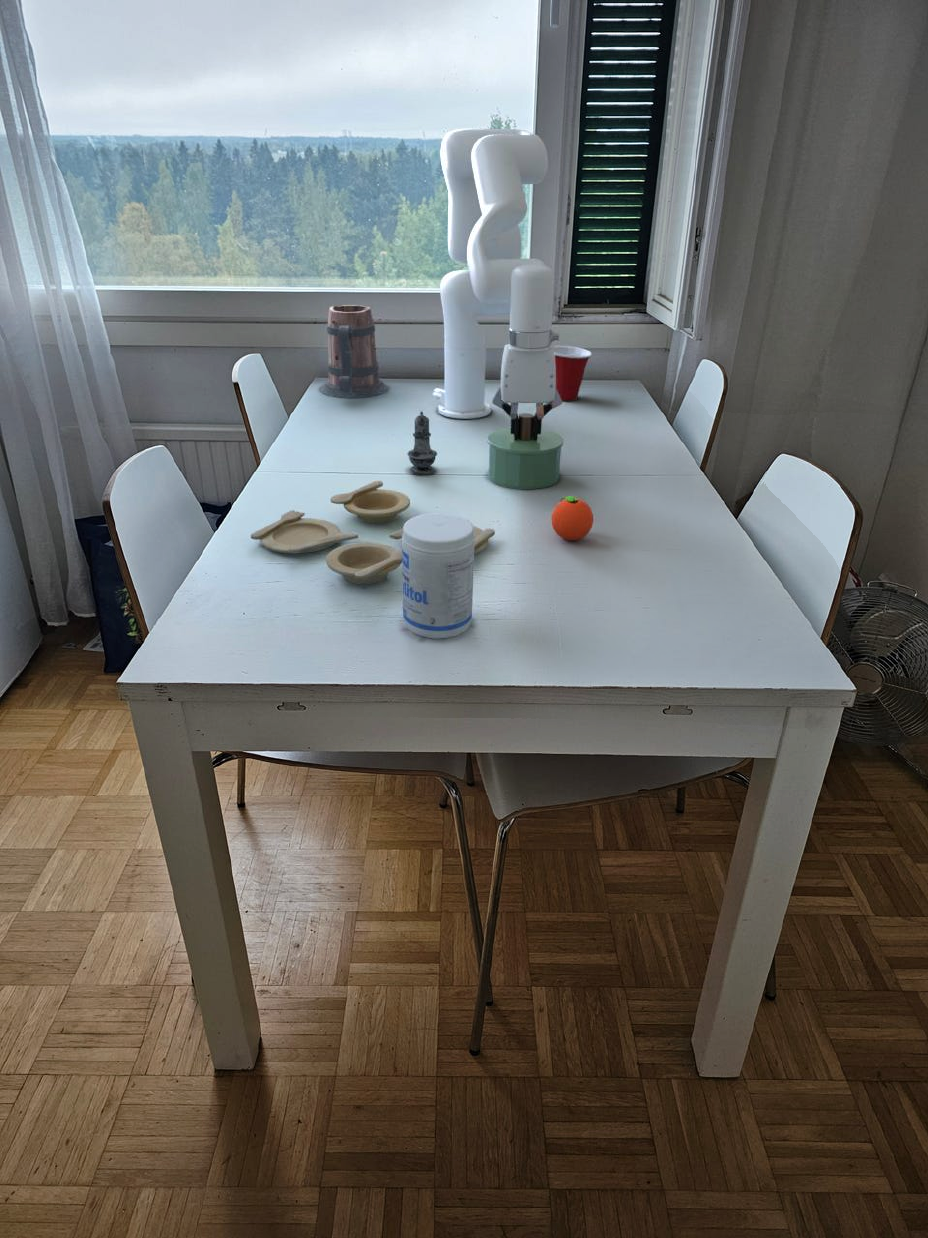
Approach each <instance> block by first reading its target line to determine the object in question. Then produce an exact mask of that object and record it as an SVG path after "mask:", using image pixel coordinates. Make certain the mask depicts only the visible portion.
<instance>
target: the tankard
mask: <svg viewBox="0 0 928 1238" xmlns="http://www.w3.org/2000/svg"><path fill="white" fill-rule="evenodd" d="M327 318H328V319H327V323H326V333H327V352H328V353H327V356H328V357H327V359H328V362H327V372H328V379H326V380H325V382H324V384H323V386H322V387H321V389H320V390H321V392H322V393H323V394H325V395H327V396H330V397H336V398H343V399H345V398H346V399H358V398H360V399H361V398H369V397H374V396H379V395H381V394H383V393H385V392H386V391H388V387H387V385H385V384H384V382H383V380H382V379H381V378H380V377H379V362H378V361H377V348H376V334H375V332H376V324H375V322H374V319H373V318H374V317H373V314H372V308H371V307H370V306H366V305H365V306H364V305H359V304H343V305H339V306H338V305H337V306H335V305H334V306H330V307H329V308H328V317H327Z"/></svg>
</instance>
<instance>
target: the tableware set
mask: <svg viewBox="0 0 928 1238" xmlns="http://www.w3.org/2000/svg"><path fill="white" fill-rule="evenodd" d="M383 485H384V483H383V481H382V480H375V481H372V482H370V483H368V484H365V485H363V486H361V487H359V488H357V489H355V490H353V491H350V492H345V493H338V494H335V495H333V496H331V497H330V503H332V504H336V505H343V508H344V509H345V510H346V512H348V513H350V514H353V515H356V516H357V518H358V519H359V521H361V522H363V523H367V524H372V525H382V524H387V523H390V522H394V520H395V519H396V518H397V516H398V515H399V514H401V513H403V512H405V511H406V510H407V509H408V508H409V507H410V505H411V500H410V498H409V496H408V495H406V494H405V493H403V492H400V491H397V490H392V489H383V488H382V487H383ZM379 488H380V489H379ZM381 488H382V489H381ZM305 515H306V514H305V512H302V511H301V512H300V511H298V510H297V511H295V510H293V509H291V510H289V511H287V512H284V514H282V515H281V517H280V519H279V520H277V521H275V522H273V523H271V524H269V525H267V526H265V527H262V528H260V529H259V530H256V531H254V532H252V533H251V534H250V539H251V540H257V541H259V543H260V544H261V545H262V546H263V547H264V548H266V549H268V550H270V551H272V552H277V553H283V554H305V553H314V552H318V551H321V550H322V551H323V550H325V549H327V548H329V547H331V546H333V545H335V544H339V543H343V542H347V541H352V540H355V539H359V534H358V532H356V531H352V530H351V531H343V532H341V530H340V527H339V526H338V525H336V524H334V523H333V522H331V521H328V520H323V519H319V518H312V517H311V518H310V517H309V518H308V517H304V516H305ZM303 517H304V518H303ZM473 527H474V537H475V539H474V556H475V555H477V554H479V553H481V552H482V551H484V550H485V549H486V548H487V547H488V544H489V539H491V538H492V537H493V536H495V533H496V531H495V529H494V528H486V529H485V528H484V529H481V528H479V527H478V526H475V525H473ZM402 536H403V528H402V529H399V530H396V531H393V532H391V533H389V538H390V539H392V540H400V539H401V540H402ZM325 563H326V566H327V567H328V569H330V570H331V571H332V572H334V573H337V574H339V575H341V576H342V577H343V579H344V580H345V581H347V582H349V583H351V584H357V585H371V584H376V583H379V582H382V581H383V580H385V579H386V577H388V574H389V573H391V572H393V571H395V570H397V569H398V568H399V567H400V566H401V565H402V548H401V549H398V548H396V547H394V546H392V545H389V544H385V543H380V542H374V541H373V542H369V541H362V542H351V543H347V544H344V545H340V546H338V547H336V548H334V549H332V550H331V551H329V553H328V554H327V556H326V558H325Z"/></svg>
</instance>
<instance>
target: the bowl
mask: <svg viewBox="0 0 928 1238" xmlns="http://www.w3.org/2000/svg"><path fill="white" fill-rule="evenodd" d="M488 447H489V448H488V449H489V450H488V477H489V479H490V481H491V482H493V483H494V484H496V485H499V486H501V487H504V488H510V489H514V490H515V489H516V490H538V489H544V488H548V487H551V486H553V485H554V484H556V483H557V482H558V481H559V478H560V471H561V458H562V457H561V456H562V447H561V448H559V449H557V450H555V451H551V452H547V453H540V454H517V453H510V452H505V451H501V450H498V449H495V448H493V447H492V446H490V445H489V444H488Z"/></svg>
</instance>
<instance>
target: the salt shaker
mask: <svg viewBox="0 0 928 1238" xmlns="http://www.w3.org/2000/svg"><path fill="white" fill-rule="evenodd" d="M419 414H420V415H417V416H416V417H415V418H414V433H412V436H413V437H414V445H413V449H410V450H409V451H408V452H407V453H406V455H407V457H408V460H409V462H410V464H411V465H413V466H412V467H410V468H409V469H408V472H409V473H410V474H411V475H415V476H429V475H434V474H435V473H436V472H437V470H436V468H435V467H434V466H432V465H433V464H434V463H435V461H436V457H437V456H438V452H437V451H436V450H435V449H432V448H431V444H430V440H431V439H430V438H431V437H432V433H431V432H430V419H429V417H428V416H426V415H424V411H422V410H421V411H420V412H419Z"/></svg>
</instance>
